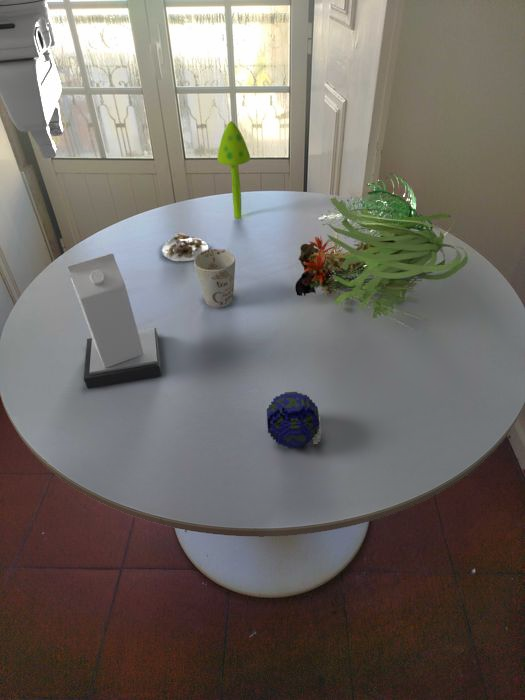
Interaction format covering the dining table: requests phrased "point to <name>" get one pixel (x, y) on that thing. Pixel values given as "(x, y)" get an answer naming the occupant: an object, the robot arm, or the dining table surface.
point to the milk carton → (106, 309)
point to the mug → (216, 276)
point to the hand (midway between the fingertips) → (54, 144)
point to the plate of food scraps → (183, 248)
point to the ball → (293, 420)
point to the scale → (124, 363)
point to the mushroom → (233, 160)
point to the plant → (377, 253)
